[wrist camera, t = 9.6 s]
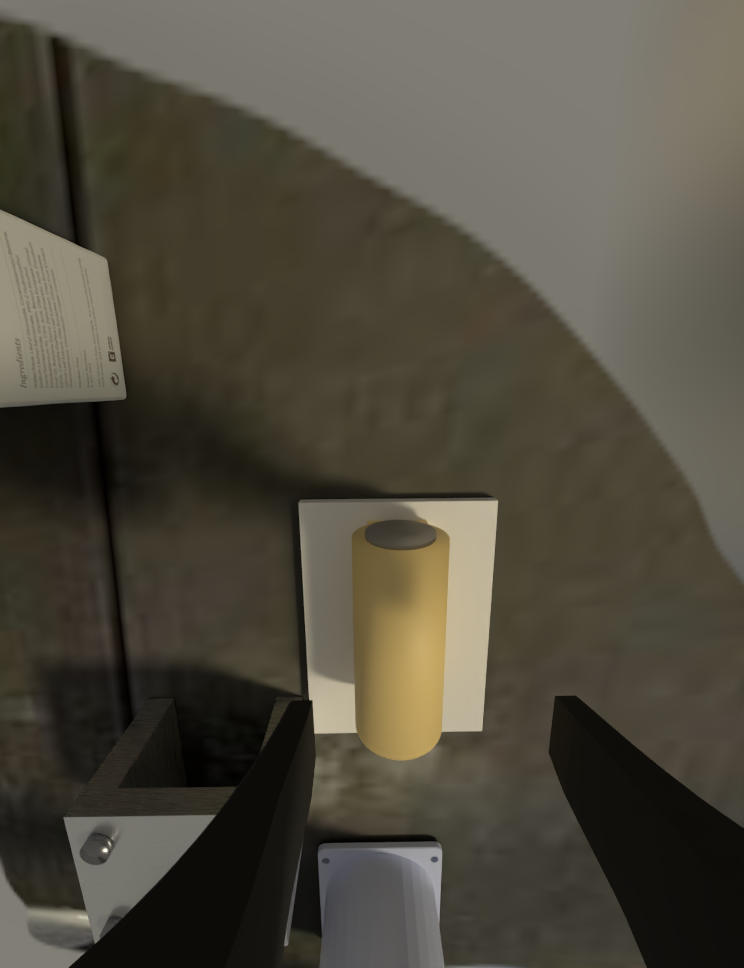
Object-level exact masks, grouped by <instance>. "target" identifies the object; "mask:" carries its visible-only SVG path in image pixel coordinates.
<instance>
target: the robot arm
mask: <svg viewBox="0 0 744 968" xmlns="http://www.w3.org/2000/svg"><path fill="white" fill-rule="evenodd" d="M549 755H550V757H551V760H552V763H553V765H554V768H555V771H556V774H557V776H558V779H559V781H560V784H561V786H562V789H563V791H564V794H565V796H566V798H567V800H568V802H569V804H570V806H571V808H572V810H573V812H574V814H575V816H576V818H577V820H578V822H579V824H580V826H581V828H582V830H583V832H584V834H585V836H586V838H587V840H588V842H589V844H590V846H591V848H592V850H593V852H594V854H595V856H596V858H597V860H598V862H599V864H600V866H601V868H602V870H603V872H604V874H605V876H606V878H607V879H608V881H609V883H610V885H611V887H612V889H613V891H614V893H615V895H616V898H617V900H618V902H619V904H620V906H621V908H622V910H623V912H624V915H625V917H626V919H627V921H628V924H629V926H630V928H631V931H632V933H633V936H634V938H635V940H636V943H637V945H638V947H639V950H640V952H641V955H642V957H643V959H644V962H645V964H646V967H647V968H744V828H742V827H741V826H739V825H738V824H737V823H735V822H734V821H732V820H731V819H729V818H728V817H726V816H725V815H724V814H722V813H721V812H719V811H718V810H716V809H715V808H714V807H712V806H711V805H709V804H708V803H707V802H705V801H704V800H703V799H701V798H700V797H698V796H697V795H696V794H694V793H693V792H692V791H690V790H689V789H688V788H687V787H685V786H684V785H683V784H681V783H680V782H679V781H677V780H676V779H675V778H674V777H672V776H671V775H670V774H668V773H667V772H666V771H665V770H663V769H662V768H661V767H660V766H658V765H657V764H656V763H655V762H653V761H652V760H651V759H650V758H649V757H647V756H646V755H645V754H644V753H642V752H641V751H640V750H639V749H638V748H636V747H635V746H634V745H633V744H632V743H630V742H629V741H628V740H627V739H626V738H625V737H623V736H622V735H621V734H620V733H619V732H618V731H616V730H615V729H614V728H613V727H612V726H611V725H609V724H608V723H607V722H606V721H605V720H604V719H602V718H601V717H600V716H599V715H598V714H597V713H596V712H594V711H593V710H592V709H591V708H590V707H589V706H587V705H586V704H585V703H584V702H583V701H581V700H580V699H579V698H578V697H577V696H555V702H554V711H553V719H552V728H551V737H550V746H549ZM315 759H316V753H315V735H314V717H313V700H293V701H291V702H290V703H289V704H288V706H287V708H286V710H285V712H284V713H283V715H282V717H281V719H280V721H279V723H278V724H277V726H276V728H275V730H274V731H273V733H272V735H271V736H270V738H269V740H268V741H267V743H266V744H265V746H264V748H263V749H262V751H261V752H260V754H259V755H258V757H257V758H256V760H255V762H254V763H253V765H252V766H251V768H250V769H249V771H248V772H247V774H246V775H245V776H244V778H243V779H242V781H241V782H240V783H239V785H238V786H237V788H236V789H235V790H234V792H233V793H232V795H231V796H230V797H229V799H228V800H227V801H226V803H225V804H224V805H223V807H222V808H221V809H220V811H219V812H218V813H217V814H216V816H215V817H214V818H213V820H212V821H211V822H210V823H209V824H208V826H207V827H206V828H205V829H204V831H203V832H202V833H201V834H200V835H199V837H198V838H197V839H196V840H195V841H194V842H193V844H192V845H191V846H190V847H189V848H188V849H187V850H186V852H185V853H184V854H183V855H182V856H181V857H180V858H179V860H178V861H177V862H176V863H175V864H174V865H173V866H172V867H171V868H170V870H169V871H168V872H167V873H166V874H165V875H164V876H163V877H162V878H161V879H160V880H159V881H158V882H157V884H156V885H155V886H154V887H153V888H152V889H151V890H150V891H149V892H148V893H147V894H146V895H145V896H144V897H143V898H142V899H141V900H140V901H139V902H138V903H137V904H136V905H135V906H134V907H133V908H132V909H131V910H130V911H129V912H128V913H127V914H126V915H125V916H124V917H123V918H122V919H121V920H120V921H119V922H118V923H117V924H116V925H115V926H114V927H113V928H112V929H110V930H109V931H108V932H107V933H106V934H105V935H104V936H103V937H102V938H101V939H100V940H99V941H98V942H96V943H95V944H94V945H93V946H92V947H91V948H90V949H89V950H88V951H87V952H85V953H84V954H83V955H82V956H81V957H80V958H79V959H78V960H77V961H75V963H73V964H72V965H71V966H70V967H69V968H281V966H282V959H283V951H284V943H285V935H286V928H287V921H288V915H289V909H290V903H291V898H292V893H293V888H294V883H295V878H296V873H297V868H298V863H299V858H300V853H301V848H302V843H303V838H304V833H305V828H306V823H307V817H308V812H309V807H310V802H311V796H312V787H313V778H314V768H315ZM318 869H319V887H320V905H321V924H322V945H321V957H320V968H445V967H444V960H443V952H442V945H441V937H440V929H439V914H440V892H441V869H442V848H441V845H440V843H438V842H435V841H424V842H359V843H323V844H321V845H320V846H319V848H318Z"/></svg>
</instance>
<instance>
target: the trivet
mask: <svg viewBox="0 0 744 968" xmlns="http://www.w3.org/2000/svg"><path fill="white" fill-rule="evenodd" d="M298 504H299V522H300V541H301V559H302V578H303V596H304V614H305V633H306V651H307V669H308V688H309V700H313V717H314V733H357V731H356V726H355V681H354V632H353V583H352V534H353V533H354V532H355V531H356V530H357V529H358V528H360V527H362V526H365V525H367V521H386V520H427V523H428V524H429V525H433V526H435V527H438V528H440V529H442V530H443V531H445V532H446V533H447V534H448V535H449V537H450V550H449V573H448V597H447V621H446V645H445V668H444V692H443V716H442V732H448V731H482V724H483V709H484V695H485V681H486V666H487V652H488V638H489V623H490V609H491V595H492V580H493V566H494V551H495V537H496V523H497V508H498V500H497V499H495V498H403V499H306V500H300V501H299V503H298Z"/></svg>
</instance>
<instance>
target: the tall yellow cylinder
mask: <svg viewBox="0 0 744 968" xmlns="http://www.w3.org/2000/svg"><path fill="white" fill-rule="evenodd" d="M449 550H450V537H449V535H448V534H447V533H446V532H445V531H443V530H442V529H440V528H438V527H435V526H433V525H429V524H428V523H427V520H386V521H367V525H365V526H362V527H360V528H358V529H357V530H356V531H355V532H354V533H353V534H352V583H353V632H354V681H355V726H356V731H357V733H358V736H359V738H360V739H361V741H362V742H363V744H364V745H365V746H366V747H367V748H368V749H370V750H371V751H372V752H374V753H376V754H377V755H380V756H382V757H385V758H388V759H393V760H410V759H415V758H417V757H420V756H422V755H424V754H426V753H427V752H429V751H430V750H431V749H432V748H433V747H434V746H435V745H436V744H437V742H438V740H439V738H440V736H441V732H442V716H443V692H444V668H445V645H446V621H447V597H448V573H449Z"/></svg>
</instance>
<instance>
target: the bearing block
mask: <svg viewBox="0 0 744 968" xmlns="http://www.w3.org/2000/svg"><path fill="white" fill-rule="evenodd" d="M293 700H303V698H302V697H277V698H276V701H275V705H274V708H273V711H272V715H271V718H270V721H269V725H268V728H267V731H266V735H265V738H264V741H263V745H262V748H261V751H262V749H263V748H264V746H265V744H266V743H267V741H268V740H269V738H270V736H271V735H272V733H273V731H274V730H275V728H276V726H277V724H278V723H279V721H280V719H281V717H282V715H283V713H284V712H285V710H286V708H287V706H288V704H289V703H290V702H291V701H293ZM261 751H260V752H261ZM236 788H237V787H189V788H188V787H187V780H186V774H185V767H184V760H183V754H182V747H181V740H180V734H179V727H178V720H177V714H176V707H175V700H174V698H165V699H148V700H147V702H146V703H145V704H144V706H143V707H142V708H141V710H140V711H139V713H138V714H137V715H136V717H135V718H134V720H133V721H132V722H131V724H130V725H129V727H128V728H127V729H126V731H125V732H124V734H123V735H122V736H121V738H120V739H119V741H118V742H117V743H116V745H115V746H114V748H113V749H112V750H111V752H110V753H109V754H108V756H107V757H106V759H105V760H104V761H103V763H102V764H101V766H100V767H99V768H98V770H97V771H96V773H95V774H94V775H93V777H92V778H91V780H90V781H89V782H88V784H87V785H86V787H85V788H84V789H83V791H82V792H81V794H80V795H79V796H78V798H77V799H76V800H75V802H74V803H73V805H72V806H71V807H70V809H69V810H68V812H67V813H66V814H65V816H64V817H63V818H64V822H65V826H66V830H67V834H68V838H69V842H70V846H71V850H72V854H73V858H74V862H75V866H76V870H77V874H78V878H79V882H80V886H81V890H82V894H83V898H84V902H85V906H86V910H87V914H88V918H89V922H90V926H91V930H92V934H93V938H94V942H95V943H96V942H98V941H99V940H100V939H101V938H102V937H103V936H104V935H105V934H106V933H107V932H108V931H109V930H110V929H112V928H113V927H114V926H115V925H116V924H117V923H118V922H119V921H120V920H121V919H122V918H123V917H124V916H125V915H126V914H127V913H128V912H129V911H130V910H131V909H132V908H133V907H134V906H135V905H136V904H137V903H138V902H139V901H140V900H141V899H142V898H143V897H144V896H145V895H146V894H147V893H148V892H149V891H150V890H151V889H152V888H153V887H154V886H155V885H156V884H157V882H158V881H159V880H160V879H161V878H162V877H163V876H164V875H165V874H166V873H167V872H168V871H169V870H170V868H171V867H172V866H173V865H174V864H175V863H176V862H177V861H178V860H179V858H180V857H181V856H182V855H183V854H184V853H185V852H186V850H187V849H188V848H189V847H190V846H191V845H192V844H193V842H194V841H195V840H196V839H197V838H198V837H199V835H200V834H201V833H202V832H203V831H204V829H205V828H206V827H207V826H208V824H209V823H210V822H211V821H212V820H213V818H214V817H215V816H216V814H217V813H218V812H219V811H220V809H221V808H222V807H223V805H224V804H225V803H226V801H227V800H228V799H229V797H230V796H231V795H232V793H233V792H234V790H235V789H236ZM303 839H304V838H303ZM302 846H303V843H302ZM301 853H302V848H301ZM301 853H300V858H299V863H298V868H297V873H296V878H295V883H294V888H293V893H292V898H291V903H290V909H289V915H288V921H287V928H286V935H285V943H284V946H288V942H289V935H290V928H291V921H292V914H293V908H294V901H295V894H296V887H297V880H298V873H299V866H300V860H301Z"/></svg>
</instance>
